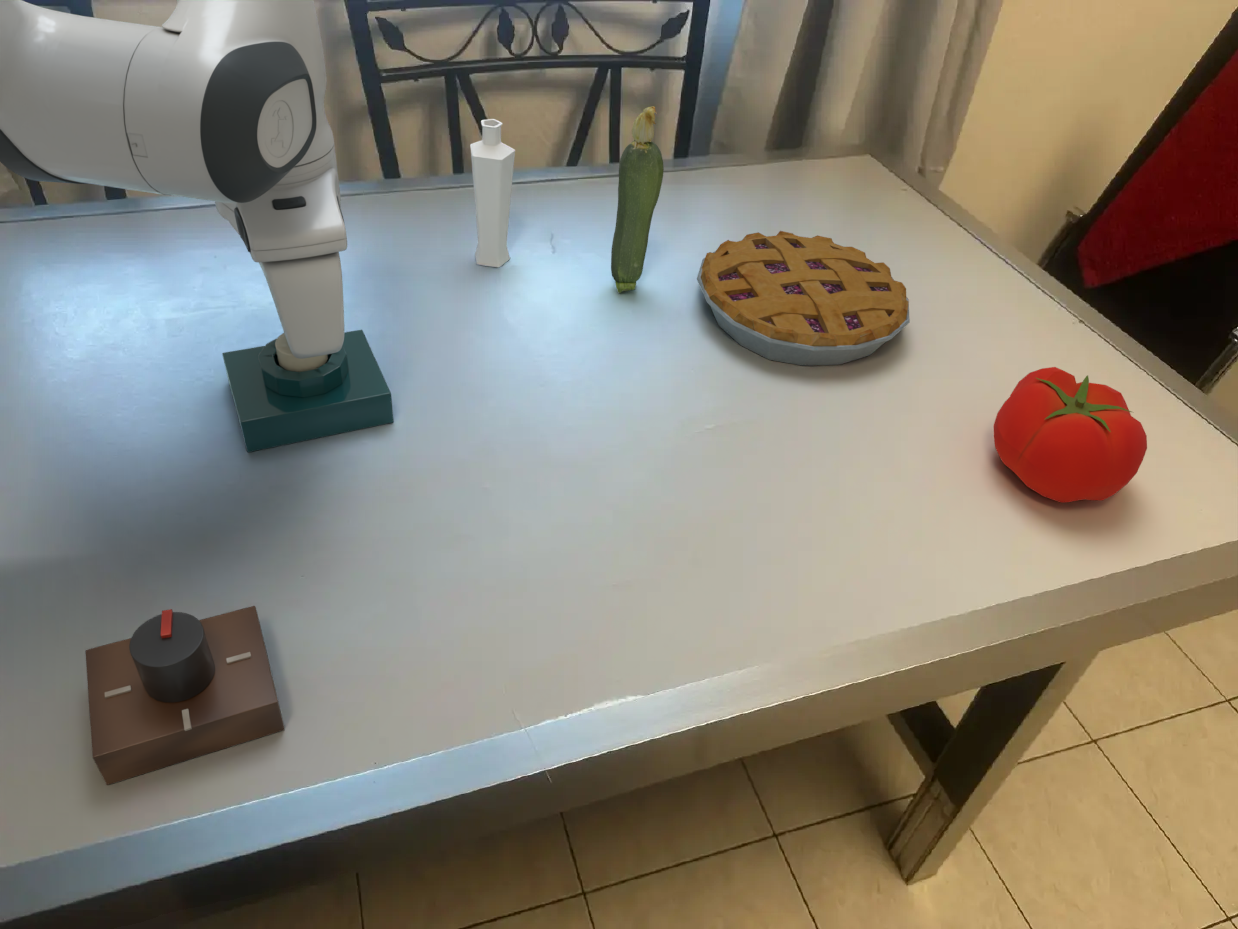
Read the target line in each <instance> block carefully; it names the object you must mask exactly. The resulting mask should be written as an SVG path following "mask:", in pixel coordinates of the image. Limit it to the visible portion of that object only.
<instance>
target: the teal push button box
mask: <svg viewBox="0 0 1238 929" xmlns="http://www.w3.org/2000/svg"><path fill="white" fill-rule="evenodd" d="M276 340H277V338H275V339H272V340H271V341H269V342H267V343H265V345H261V346H255V347H250V348H249V347H248V348H244V349H237V350H231V351H225V352H222V353H221V355H222V359H223V364H224V367H225V372H226V377H227V381H228V385H229V389H230V393H231V396H232V400H233V404H234V407H235V412H236V415H237V419H238V423H239V426H240V430H241V434H242V438H243V441H244V446H245V449H246V452H247V453H251V452H256V451H261V450H266V449H271V448H275V447H276V448H277V447H280V446H285V445H290V444H295V443H301V442H306V441H310V440H314V439H315V440H316V439H319V438H325V437H329V436H333V435H334V436H335V435H339V434H344V433H349V432H353V431H358V430H359V431H360V430H363V429H369V428H372V427H377V426H382V425H383V426H384V425H388V424H392V423H395V422H394V411H393V400H392V392H391V390H390V387H389V386H388V384H387V383H388V382H387V381H386V379H385V376H384V374H383V372H382V370H381V368H380V366H379V364H378V361H377V360H376V356H375V355H374V353H373V350H372V348H371V346H370V343H369V342H368V339H367V337H366V335H365V333H364V330H363V329H356V330H351V331H344V342H343V345H342V348H341V350H340V351H338V352H336V353H332V354H328V359H327V361H326V363H325V364H324V365H322V366H320V367H319V368H317V369H313V370H308V371H302V372H297V371H289V370H286V369H284V368H282V367H281V366H280V364H279V363H278V358H277V352H276V347H275V342H276Z"/></svg>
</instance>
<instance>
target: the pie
mask: <svg viewBox="0 0 1238 929" xmlns="http://www.w3.org/2000/svg"><path fill="white" fill-rule="evenodd" d="M696 281H697V283H698V286H699V287H700V290H701V292H702V295H703V296H704V299H705V301H706V303H707V304H708V305H709V307H710V309H711V312H712V314H713V316H714V319H715V320H716V323H717V325H718V327H720V328H721V329H722V330H723V331H724V332H725V333H726V334H727V335H729V336H730V337H731V338H732V339H733V340H734V341H735V342H736V343H737V344H739V345H740V346H741V347H743V348H745V349H747V350H749V351H751V352H752V353H754V354H757V355H759V356H761V357H762V358H765V359H766V360H769V361H775V362H781V363H786V364H792V365H797V366H802V367H803V366H826V365H827V366H830V365H831V366H833V365H842V364H846V363H849V362H853V361H856V360H859V359H862V358H863V359H864V358H865V357H869V356H871V355H872V354H873V353H875V352H876V351H877V350H879V349H880V348H881V346H883V345H884V344H885V343H886V342H888V341H889V342H890V340H893V339H894V337H896V335H898V334H899V333H900V332H901V331H902V330H903V329H904V328H906V327H907V326H908V325H909V324H910V321H911V320H910V300H909V298H908V297H907V288H906V286H905V285H904V283H903V282H902V281H898V280H895V279H894V278H893V276H892V273H891V268H890V267H889V266H888V265H887V264H886V263H885V262H882V261H881V262H874V261H873V260H871V259H870V258H868V257H867V254H866V252H864V251H862V250H861V249H858V248H856V247H853V246H843V245H840V244H837V243H835V242H834V241H833V239H832V238H831V237H827V236H823V235H818V234H817V235H815V236H811V237H809V236H807V237H806V236H799V235H797V234H794V232H788V231H783V230H779V231H778V233H777V234H775V235H764V234H762V233H760V232H758V231H757V232H753V233H749V234H746V235H745V236H744V237H743V239H742V240H738V241H734V240H729V239H727V240H725V241H724V242H721V243H720V244H719V246H718V247H717V248H716V250H714V251H713V252H711V251H710V252H706V254H705V257H703V258H702V260H701V263H700V267H699V270H698V272H697V276H696Z"/></svg>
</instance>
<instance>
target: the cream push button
mask: <svg viewBox="0 0 1238 929" xmlns="http://www.w3.org/2000/svg"><path fill="white" fill-rule="evenodd" d="M276 339H277V340H276V342H275V347H276V352H277V358H278V363H279V364H280V366H281V367H282V368H284V369H286V370H289V371H297V372H302V371H308V370H313V369H317V368H319V367H320V366H322V365H324V364H325V363H326V361H327V359H328V354H327V355H322V356H316V357H310V358H303V359H299V358H296V357H294V356H293V354H292V352H291V350H290V348H289V345H288V342H287V340H286V337H285V334H284V332H283V333H281V334H280V335H279V336H277V338H276Z"/></svg>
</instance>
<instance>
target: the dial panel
mask: <svg viewBox="0 0 1238 929" xmlns="http://www.w3.org/2000/svg"><path fill="white" fill-rule="evenodd" d="M198 620H199V621H200V622H201V624H202V626H203V629H204V632H205V635H206V638H207V641H208V644H209V648H210V651H211V654H212V657H213V660H214V664H215V672H214V676H213V678H212V680H211V682H210V683H209V685H208V686H207V687H206V688H205V689H204V690H203V691H202V692H200V693H199V694H197V695H196V696H194V697H192V698H190V699H187V700H184V701H180V702H173V703H168V702H161V701H158V700H155V699H154V698H152V697H151V696H149V695H148V693H147V692H146V690H145V688H144V686H143V683H142V681H141V678H140V676H139V673H138V671H137V668H136V666H135V663H134V661H133V659H132V656H131V654H130V650H129V644H130V640H131V637H129V638H125V639H122V640H117V641H114V642H111V643H106V644H102V645H99V646H96V647H91V648H87V649H85V667H86V681H87V683H86V684H87V695H88V709H89V726H90V739H91V754H92V756H91V757H92V759H93V761H94V763H95V765H96V767H97V769H98V771H99V773H100V775H101V777H102V778H103V781H104V783H105V784H106V785H107V786H109V785H113V784H115V783H119V782H122V781H126V780H128V779H131V778H135V777H138V776H141V775H144V774H148V773H150V772H154V771H157V770H161V769H163V768H166V767H171V766H173V765H176V764H179V763H183V762H187V761H189V760H193V759H195V758H199V757H202V756H205V755H209V754H212V753H215V752H218V751H221V750H225V749H227V748H231V747H234V746H237V745H240V744H244V743H246V742H250V741H253V740H257V739H259V738H263V737H266V736H269V735H272V734H276V733H278V732H282V731H284V730H285V728H286V727H285V725H284V720H283V715H282V712H281V707H280V703H279V702H280V701H279V699H278V694H277V689H276V686H275V682H274V677H273V673H272V668H271V665H270V660H269V656H268V650H267V648H266V643H265V638H264V634H263V630H262V626H261V622H260V619H259V615H258V611H257V606H256V605H251V606H247V607H243V608H240V609H236V610H232V611H229V612H225V613H220V614H217V615H213V616H209V617H205V618H201V619H198Z"/></svg>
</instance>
